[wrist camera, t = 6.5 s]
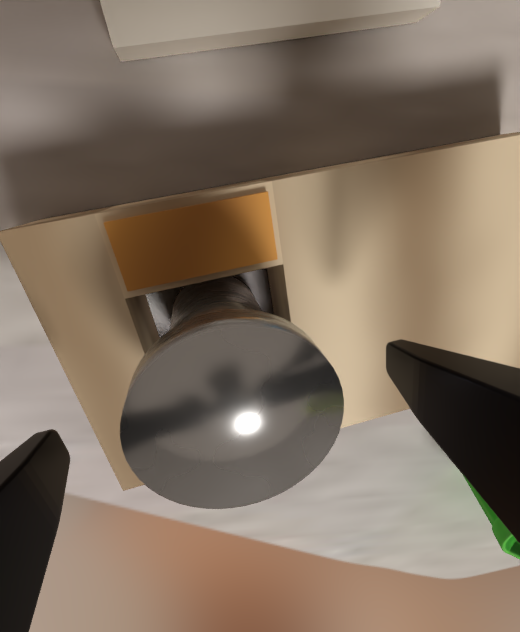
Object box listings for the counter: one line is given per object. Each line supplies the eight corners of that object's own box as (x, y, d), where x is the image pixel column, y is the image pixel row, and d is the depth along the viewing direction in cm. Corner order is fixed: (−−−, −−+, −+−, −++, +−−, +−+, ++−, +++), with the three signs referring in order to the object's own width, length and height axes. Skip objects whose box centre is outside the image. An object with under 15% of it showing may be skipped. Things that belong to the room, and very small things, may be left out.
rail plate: (501, 134, 13) (586, 122, 11) (474, 344, 18) (530, 377, 15) (41, 219, 11) (-9, 233, 8) (134, 435, 15) (122, 495, 13)
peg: (265, 242, 13) (337, 302, 7) (282, 352, 15) (349, 474, 9) (134, 269, 13) (81, 362, 6) (171, 380, 15) (159, 532, 8)
